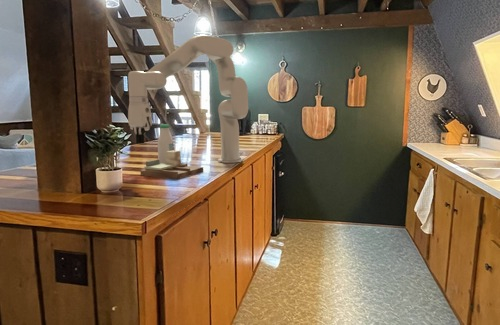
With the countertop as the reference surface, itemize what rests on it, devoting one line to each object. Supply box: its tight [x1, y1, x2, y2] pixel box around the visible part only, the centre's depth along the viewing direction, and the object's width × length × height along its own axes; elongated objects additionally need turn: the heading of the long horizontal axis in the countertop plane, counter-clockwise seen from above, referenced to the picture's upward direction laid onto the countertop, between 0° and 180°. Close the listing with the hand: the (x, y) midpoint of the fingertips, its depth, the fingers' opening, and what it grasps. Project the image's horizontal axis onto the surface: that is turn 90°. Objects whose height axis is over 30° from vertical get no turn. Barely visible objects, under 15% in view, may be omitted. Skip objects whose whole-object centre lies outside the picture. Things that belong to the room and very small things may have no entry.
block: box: [166, 149, 182, 166], centre depth 162 cm, size 4×4×7 cm
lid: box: [144, 158, 175, 170], centre depth 154 cm, size 9×9×3 cm
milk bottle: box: [157, 124, 175, 164], centre depth 177 cm, size 8×8×20 cm
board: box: [139, 162, 204, 180], centre depth 157 cm, size 18×20×3 cm
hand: (140, 143), depth 157 cm, fingers closed
